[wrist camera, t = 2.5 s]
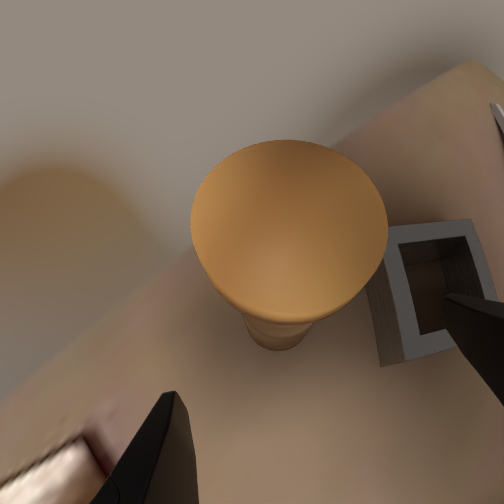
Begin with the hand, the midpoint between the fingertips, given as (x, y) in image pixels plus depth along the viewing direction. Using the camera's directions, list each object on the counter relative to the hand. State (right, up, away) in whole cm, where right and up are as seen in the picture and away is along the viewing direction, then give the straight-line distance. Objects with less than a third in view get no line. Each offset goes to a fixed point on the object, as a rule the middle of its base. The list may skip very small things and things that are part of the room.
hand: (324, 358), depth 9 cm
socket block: (+10, 0, +11) cm, 15 cm away
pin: (0, -1, +11) cm, 11 cm away
